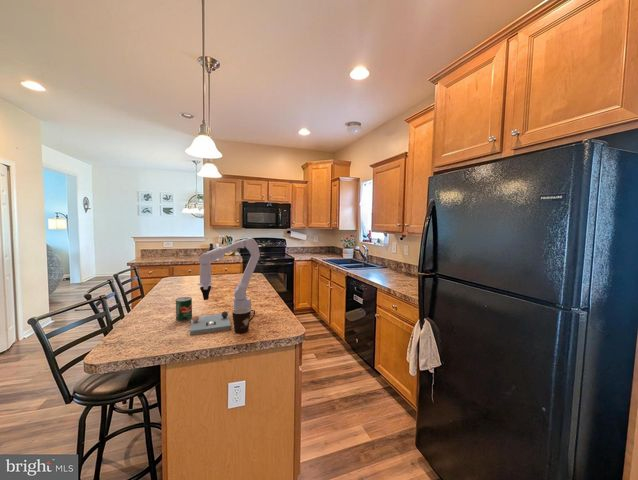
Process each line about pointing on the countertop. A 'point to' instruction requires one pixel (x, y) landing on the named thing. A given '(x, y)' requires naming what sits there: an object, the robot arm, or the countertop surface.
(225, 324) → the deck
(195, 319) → the terracotta ball
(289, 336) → the countertop surface
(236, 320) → the coffee mug
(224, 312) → the black rubber ball
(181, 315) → the canned tomato
